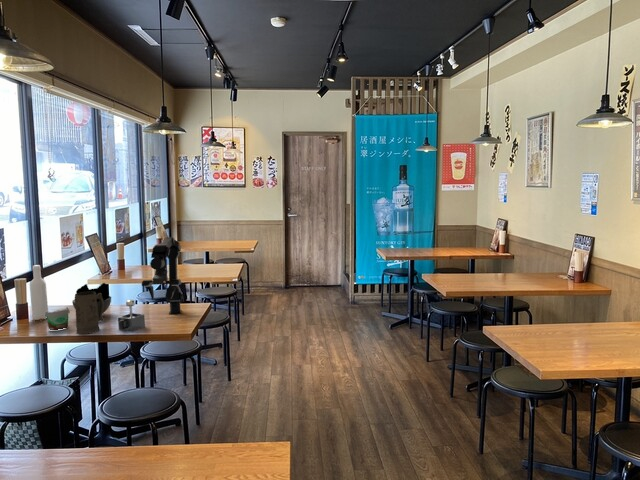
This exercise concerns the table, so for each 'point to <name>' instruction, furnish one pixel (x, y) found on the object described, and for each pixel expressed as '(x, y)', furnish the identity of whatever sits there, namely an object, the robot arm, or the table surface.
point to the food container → (57, 319)
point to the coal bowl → (100, 289)
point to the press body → (131, 322)
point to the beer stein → (88, 312)
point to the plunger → (130, 306)
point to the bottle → (38, 294)
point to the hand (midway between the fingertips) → (161, 299)
